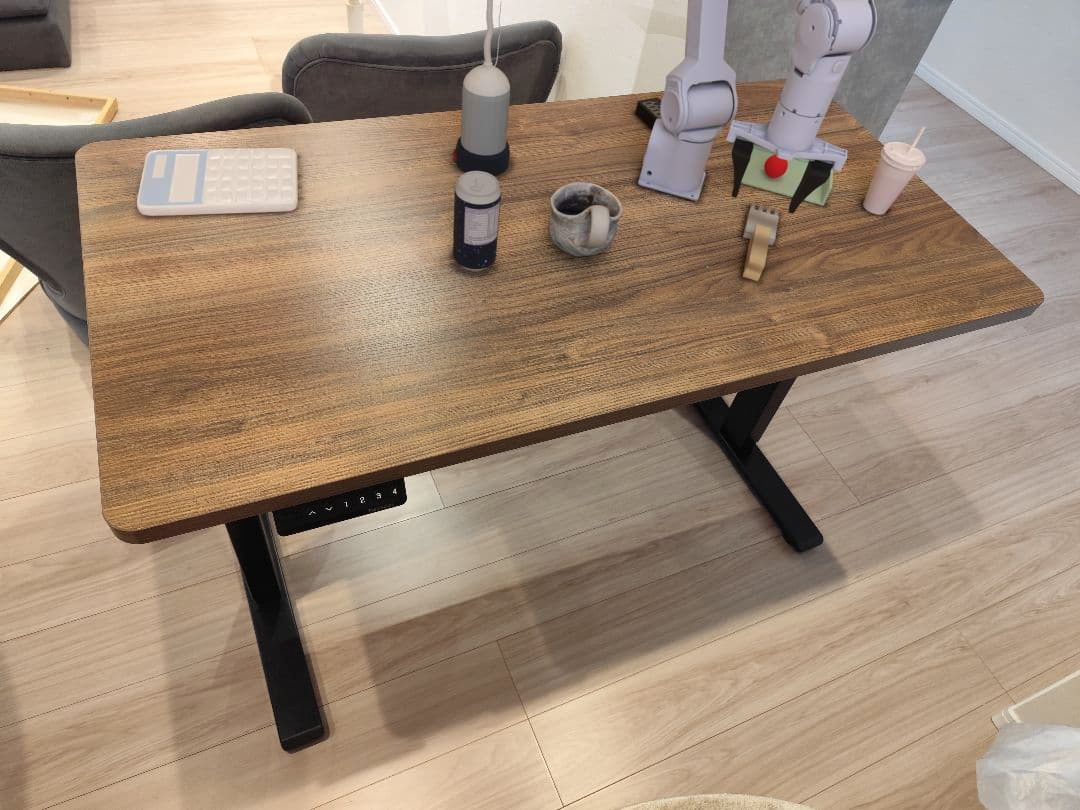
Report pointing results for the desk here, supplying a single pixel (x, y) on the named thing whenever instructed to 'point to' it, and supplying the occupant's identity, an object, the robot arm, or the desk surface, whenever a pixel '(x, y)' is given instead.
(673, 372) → the desk surface
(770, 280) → the desk surface
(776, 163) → the red ball
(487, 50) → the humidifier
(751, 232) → the fork
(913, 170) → the smoothie
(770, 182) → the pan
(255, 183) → the calculator
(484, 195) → the beverage can
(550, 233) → the mug
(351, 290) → the desk surface
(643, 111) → the multiport hub
